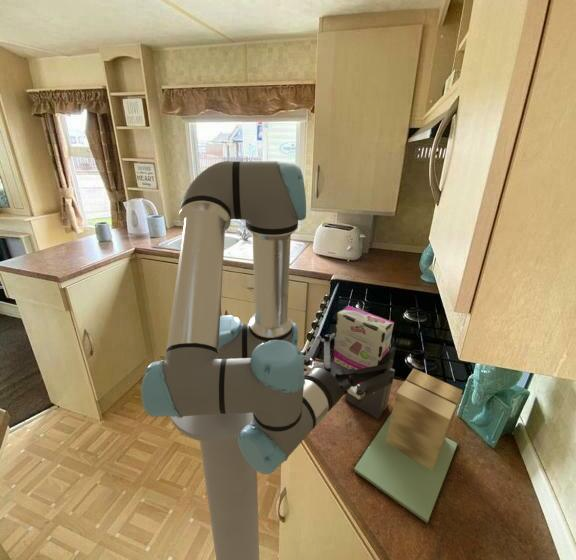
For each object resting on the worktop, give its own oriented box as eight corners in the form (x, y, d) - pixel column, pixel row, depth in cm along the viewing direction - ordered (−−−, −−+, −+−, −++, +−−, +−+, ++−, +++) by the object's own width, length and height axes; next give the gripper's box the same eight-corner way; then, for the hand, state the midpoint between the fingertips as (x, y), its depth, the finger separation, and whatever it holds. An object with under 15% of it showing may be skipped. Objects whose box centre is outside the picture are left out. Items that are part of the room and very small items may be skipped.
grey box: (345, 399, 88) (350, 360, 82) (354, 388, 92) (360, 350, 86) (378, 419, 83) (386, 378, 77) (387, 406, 86) (395, 366, 81)
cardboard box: (385, 442, 75) (396, 392, 69) (401, 415, 83) (413, 368, 76) (432, 471, 69) (450, 419, 62) (445, 439, 76) (462, 390, 70)
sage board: (353, 470, 70) (354, 468, 69) (393, 410, 85) (394, 408, 85) (427, 523, 61) (428, 521, 60) (456, 445, 76) (457, 443, 76)
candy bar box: (383, 382, 71) (395, 322, 64) (373, 395, 68) (385, 332, 61) (341, 361, 78) (348, 303, 71) (330, 371, 74) (336, 312, 67)
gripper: (266, 380, 65) (324, 334, 80) (369, 449, 52) (416, 377, 67) (265, 351, 62) (327, 309, 77) (376, 416, 48) (424, 349, 64)
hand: (368, 341), depth 72 cm, fingers closed on candy bar box, 11 cm apart
